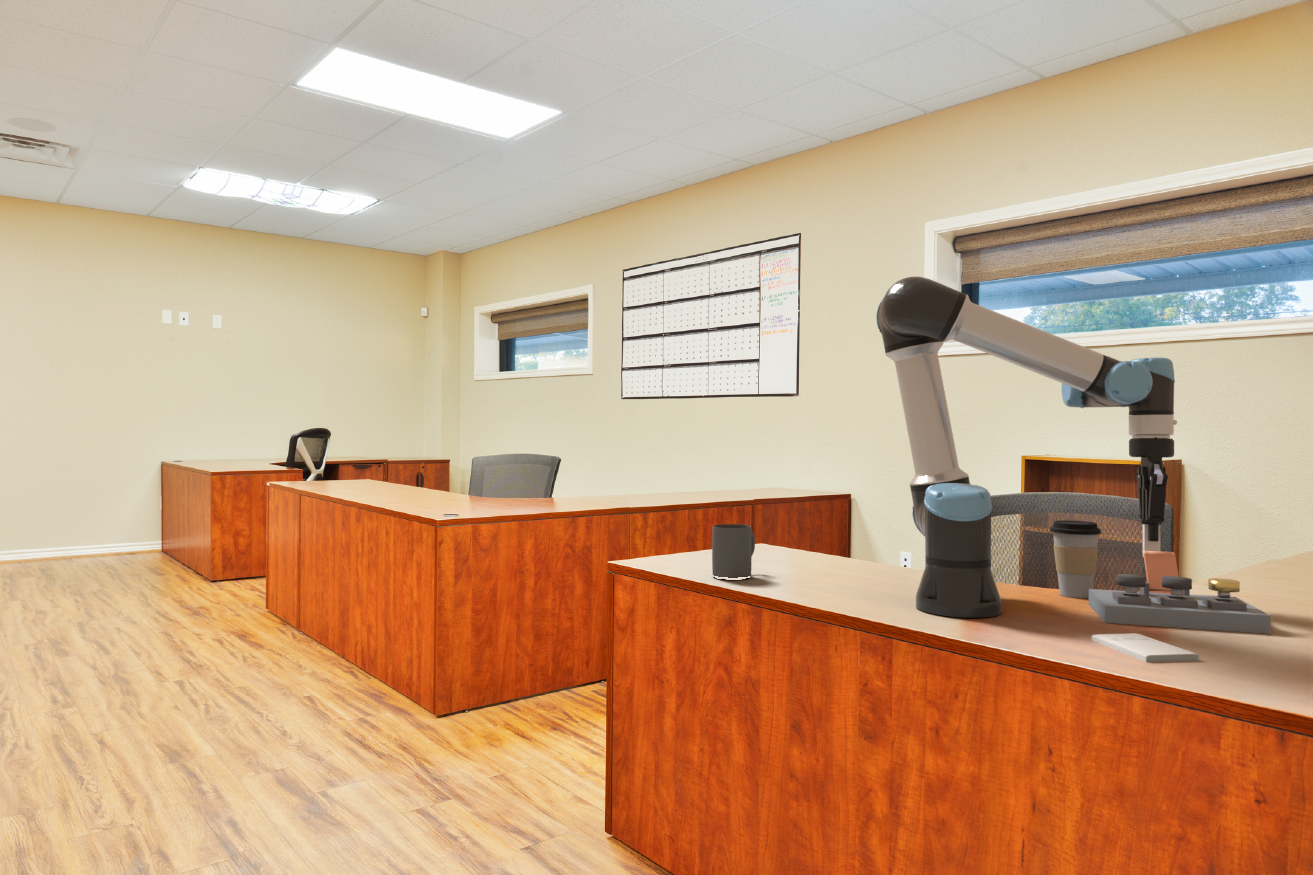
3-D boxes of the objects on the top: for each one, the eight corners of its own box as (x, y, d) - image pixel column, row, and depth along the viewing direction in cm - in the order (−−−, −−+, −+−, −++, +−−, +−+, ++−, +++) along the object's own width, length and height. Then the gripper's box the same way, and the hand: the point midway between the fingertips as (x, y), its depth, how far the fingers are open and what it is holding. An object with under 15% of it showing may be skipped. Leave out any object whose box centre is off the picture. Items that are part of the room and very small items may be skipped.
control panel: (1105, 622, 138) (1105, 591, 138) (1088, 604, 153) (1088, 576, 153) (1270, 633, 130) (1270, 600, 130) (1235, 613, 145) (1235, 583, 145)
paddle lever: (1149, 588, 146) (1143, 549, 150) (1147, 590, 147) (1142, 552, 151) (1181, 590, 145) (1175, 550, 148) (1179, 592, 146) (1173, 553, 149)
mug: (736, 582, 177) (736, 529, 177) (704, 577, 183) (704, 526, 183) (769, 574, 187) (769, 524, 187) (738, 570, 194) (738, 521, 194)
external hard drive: (1146, 666, 114) (1091, 643, 126) (1199, 664, 114) (1139, 642, 127) (1145, 655, 114) (1091, 633, 126) (1199, 653, 114) (1139, 632, 127)
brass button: (1213, 598, 135) (1213, 581, 135) (1204, 594, 139) (1204, 577, 139) (1243, 600, 133) (1243, 583, 133) (1234, 595, 137) (1234, 579, 137)
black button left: (1119, 593, 139) (1119, 577, 139) (1114, 589, 144) (1114, 573, 144) (1148, 595, 138) (1148, 578, 138) (1142, 590, 142) (1142, 574, 142)
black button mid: (1165, 596, 137) (1165, 579, 137) (1159, 591, 141) (1158, 575, 141) (1195, 597, 136) (1195, 581, 136) (1187, 593, 140) (1187, 576, 140)
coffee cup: (1108, 600, 156) (1108, 525, 156) (1057, 599, 158) (1056, 524, 158) (1092, 591, 165) (1092, 520, 165) (1043, 590, 167) (1043, 519, 167)
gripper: (1183, 437, 147) (1183, 563, 147) (1164, 437, 159) (1164, 553, 159) (1137, 437, 149) (1137, 561, 149) (1121, 437, 162) (1122, 551, 162)
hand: (1151, 557), depth 154 cm, fingers closed
